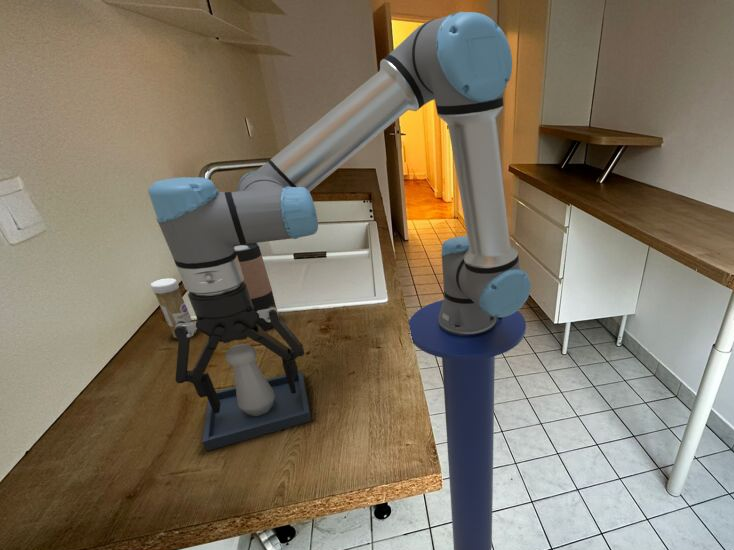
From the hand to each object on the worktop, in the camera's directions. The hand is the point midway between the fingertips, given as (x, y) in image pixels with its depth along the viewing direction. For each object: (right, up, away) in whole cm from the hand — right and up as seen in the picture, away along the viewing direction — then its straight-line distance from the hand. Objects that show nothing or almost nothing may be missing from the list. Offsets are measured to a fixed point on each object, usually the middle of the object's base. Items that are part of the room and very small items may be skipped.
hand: (256, 398), depth 73 cm
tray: (0, -3, +1) cm, 3 cm away
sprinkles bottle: (-31, +11, +23) cm, 40 cm away
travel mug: (-16, +13, +28) cm, 35 cm away
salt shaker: (0, -2, +1) cm, 3 cm away
